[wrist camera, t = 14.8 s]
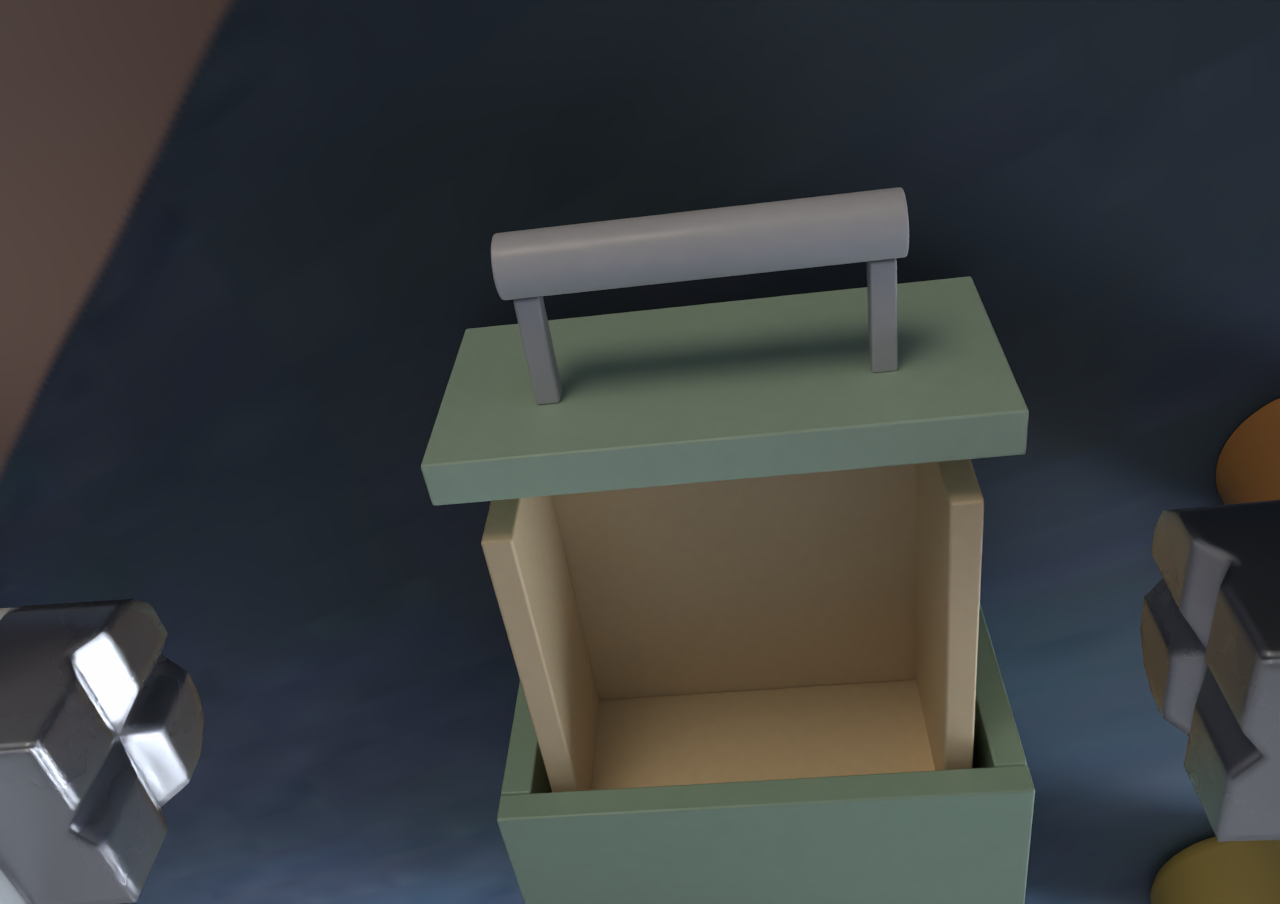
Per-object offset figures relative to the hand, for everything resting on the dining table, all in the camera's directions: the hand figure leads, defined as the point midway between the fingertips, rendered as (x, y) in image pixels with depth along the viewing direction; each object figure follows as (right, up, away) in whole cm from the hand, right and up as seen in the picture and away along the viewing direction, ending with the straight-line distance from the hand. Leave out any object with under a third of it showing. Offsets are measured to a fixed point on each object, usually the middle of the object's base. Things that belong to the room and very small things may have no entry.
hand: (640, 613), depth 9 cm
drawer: (+3, +1, +24) cm, 25 cm away
